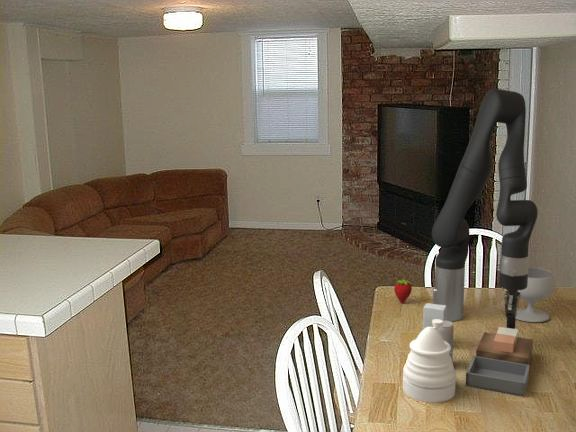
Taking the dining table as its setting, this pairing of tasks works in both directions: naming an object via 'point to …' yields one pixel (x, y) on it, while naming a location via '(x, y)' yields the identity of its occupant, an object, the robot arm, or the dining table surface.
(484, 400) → the dining table surface
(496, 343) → the tile front
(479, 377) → the box
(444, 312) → the skincare box
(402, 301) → the strawberry
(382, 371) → the dining table surface
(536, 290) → the chalice
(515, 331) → the tile back
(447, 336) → the energy drink
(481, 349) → the wooden grain block
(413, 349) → the honey pot
